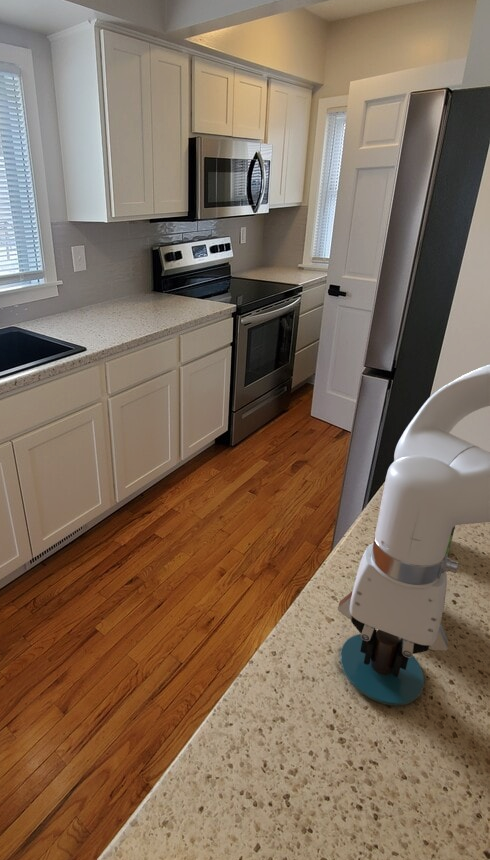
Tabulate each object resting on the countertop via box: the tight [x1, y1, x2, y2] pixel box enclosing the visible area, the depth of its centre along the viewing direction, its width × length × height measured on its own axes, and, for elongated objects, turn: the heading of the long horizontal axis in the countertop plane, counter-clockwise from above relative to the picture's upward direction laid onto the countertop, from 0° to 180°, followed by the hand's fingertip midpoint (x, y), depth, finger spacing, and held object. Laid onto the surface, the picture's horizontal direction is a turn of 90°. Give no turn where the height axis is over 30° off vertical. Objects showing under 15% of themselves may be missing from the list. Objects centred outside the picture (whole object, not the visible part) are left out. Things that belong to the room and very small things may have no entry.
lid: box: [339, 629, 425, 707], centre depth 65 cm, size 10×10×7 cm
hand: (382, 661), depth 65 cm, fingers closed on lid, 3 cm apart
